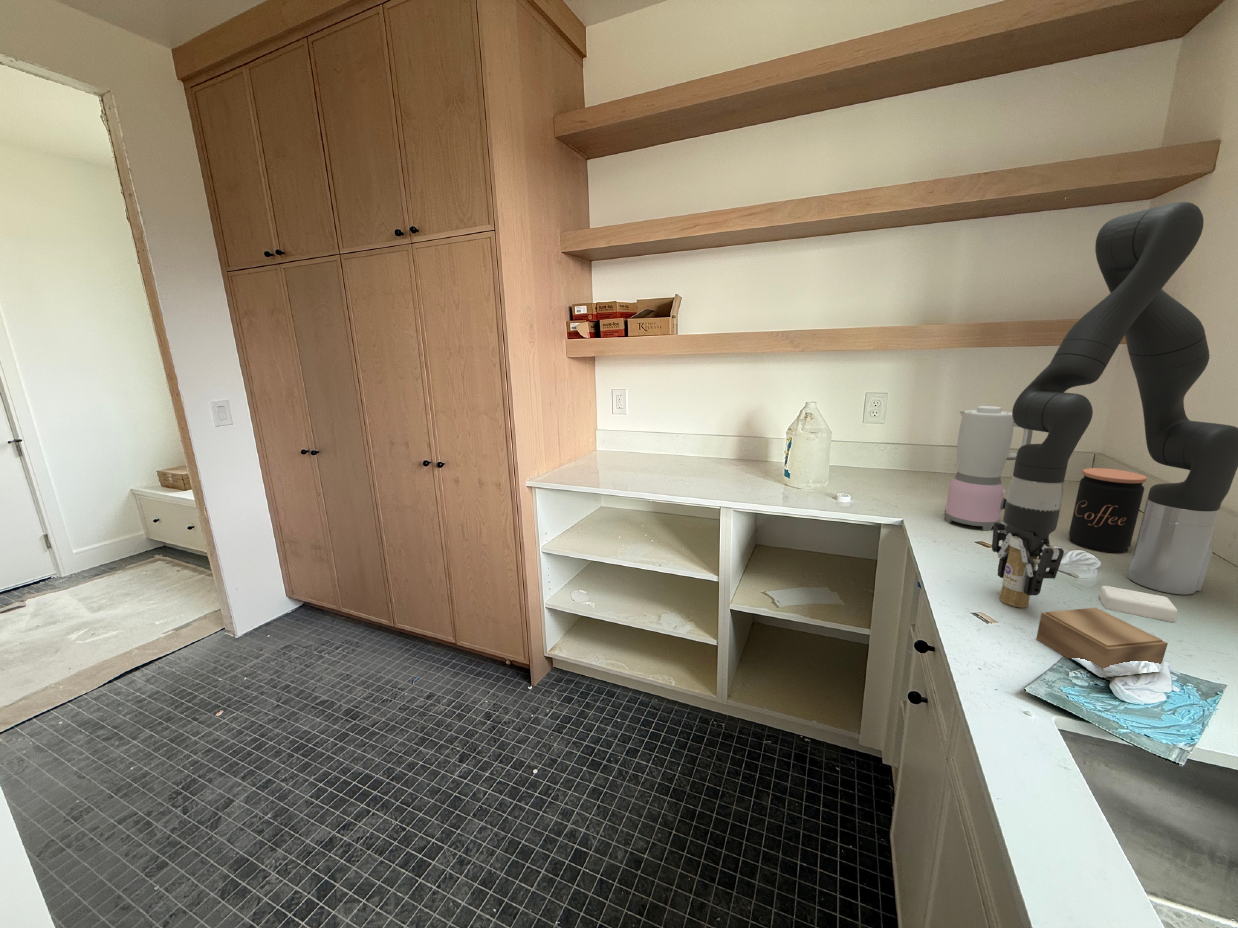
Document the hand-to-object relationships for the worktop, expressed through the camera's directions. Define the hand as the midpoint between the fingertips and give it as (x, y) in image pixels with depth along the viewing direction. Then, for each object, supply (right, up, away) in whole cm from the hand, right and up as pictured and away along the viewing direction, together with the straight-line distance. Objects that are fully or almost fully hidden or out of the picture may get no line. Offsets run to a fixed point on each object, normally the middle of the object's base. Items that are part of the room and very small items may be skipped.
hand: (1016, 585), depth 91 cm
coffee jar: (+41, +3, +25) cm, 48 cm away
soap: (+20, -4, -2) cm, 21 cm away
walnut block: (0, -7, -15) cm, 16 cm away
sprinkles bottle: (0, -4, +1) cm, 4 cm away
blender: (+23, +6, +40) cm, 47 cm away
